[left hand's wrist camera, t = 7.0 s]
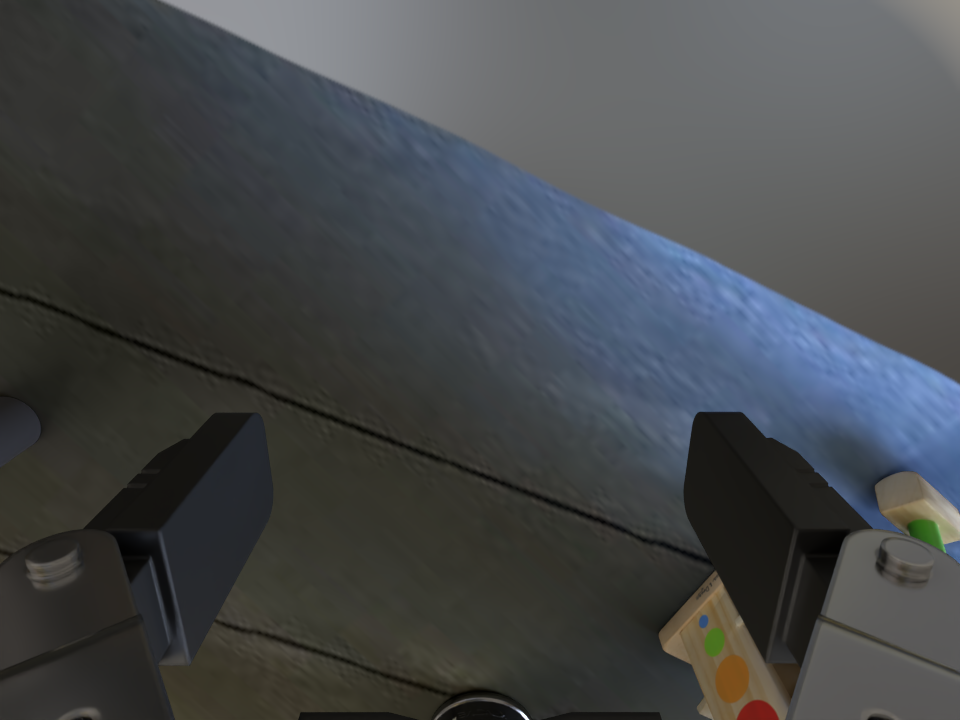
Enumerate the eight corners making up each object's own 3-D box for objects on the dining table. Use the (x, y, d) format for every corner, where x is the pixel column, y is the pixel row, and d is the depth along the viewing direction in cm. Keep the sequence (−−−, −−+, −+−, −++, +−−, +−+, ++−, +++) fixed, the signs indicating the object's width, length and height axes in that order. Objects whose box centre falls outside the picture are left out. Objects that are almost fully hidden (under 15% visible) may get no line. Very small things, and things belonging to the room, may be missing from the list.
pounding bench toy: (844, 425, 44) (1071, 610, 27) (983, 511, 46) (1269, 727, 29) (653, 636, 51) (739, 886, 34) (784, 699, 53) (923, 961, 36)
